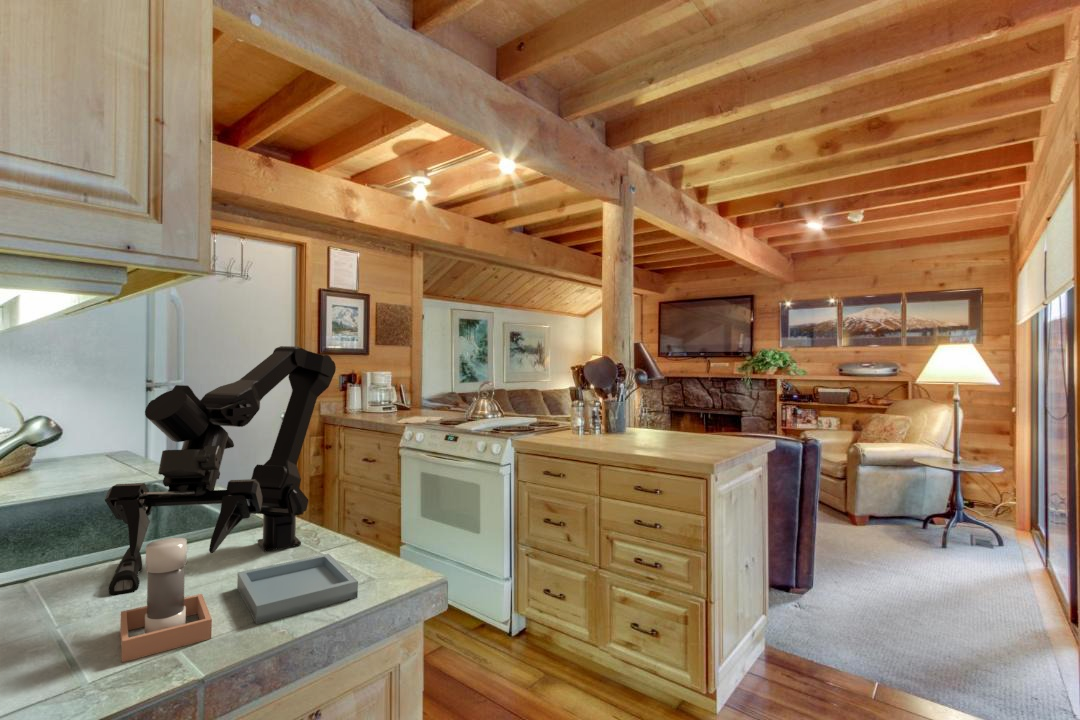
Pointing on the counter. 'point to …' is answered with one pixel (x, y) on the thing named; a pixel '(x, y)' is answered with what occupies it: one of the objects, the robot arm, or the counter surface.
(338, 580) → the parts tray
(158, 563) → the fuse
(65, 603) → the counter surface
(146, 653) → the socket ring
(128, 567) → the electric trimmer
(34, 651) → the counter surface
